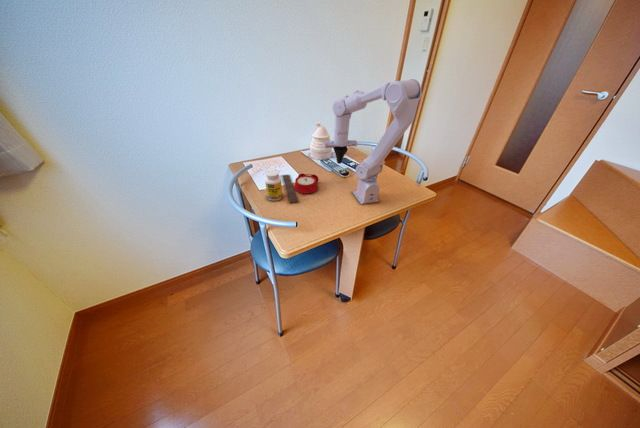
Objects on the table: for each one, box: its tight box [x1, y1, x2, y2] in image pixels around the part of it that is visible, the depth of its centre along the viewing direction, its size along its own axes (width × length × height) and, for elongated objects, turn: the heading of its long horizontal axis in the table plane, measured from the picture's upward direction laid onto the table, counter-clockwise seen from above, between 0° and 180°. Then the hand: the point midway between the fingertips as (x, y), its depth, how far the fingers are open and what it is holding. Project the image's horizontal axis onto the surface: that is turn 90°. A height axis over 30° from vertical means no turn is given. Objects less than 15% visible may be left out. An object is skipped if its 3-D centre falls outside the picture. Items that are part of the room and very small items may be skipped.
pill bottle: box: [264, 170, 283, 202], centre depth 88 cm, size 6×6×11 cm
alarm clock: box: [293, 173, 319, 196], centre depth 98 cm, size 10×6×15 cm
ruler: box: [282, 174, 299, 204], centre depth 97 cm, size 24×3×1 cm, turn 16°
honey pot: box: [309, 121, 333, 160], centre depth 124 cm, size 13×13×18 cm
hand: (339, 162), depth 98 cm, fingers closed
